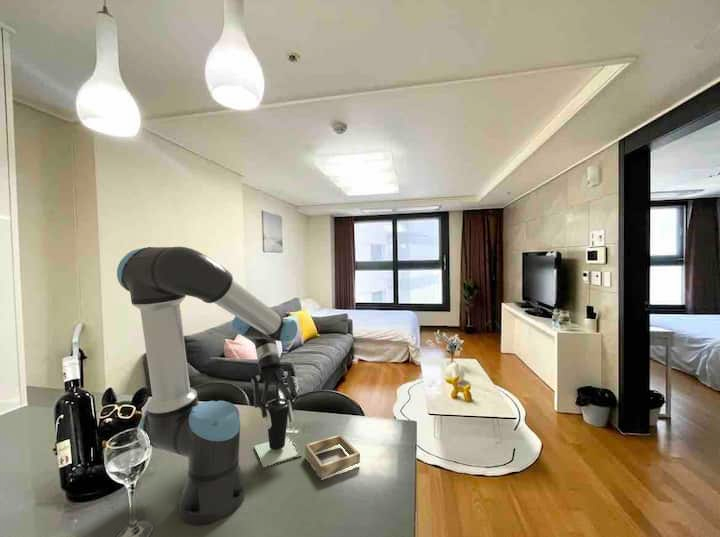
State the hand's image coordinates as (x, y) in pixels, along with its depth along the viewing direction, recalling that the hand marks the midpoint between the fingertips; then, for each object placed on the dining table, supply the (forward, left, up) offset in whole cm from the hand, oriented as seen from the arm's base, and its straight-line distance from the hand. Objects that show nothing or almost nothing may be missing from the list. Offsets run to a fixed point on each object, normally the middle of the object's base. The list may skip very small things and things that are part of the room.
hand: (281, 424), depth 96 cm
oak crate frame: (+13, -10, -11) cm, 20 cm away
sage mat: (0, +4, -11) cm, 11 cm away
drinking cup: (0, +4, -9) cm, 9 cm away
